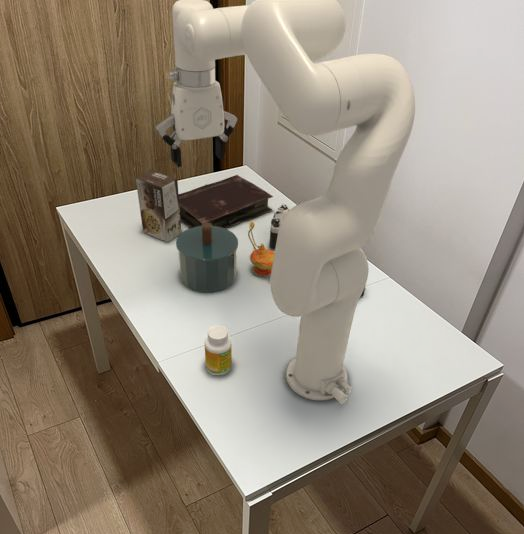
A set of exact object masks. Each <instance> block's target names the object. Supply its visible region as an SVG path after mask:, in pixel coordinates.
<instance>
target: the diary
mask: <svg viewBox="0 0 524 534" xmlns="http://www.w3.org/2000/svg"><path fill="white" fill-rule="evenodd" d="M178 194H179V207H180V221H181V222H183V223H184V224H185V225H187V226H188V227H189V228H193V227H197V226H202V224H203V223H211V224H212V226H217V227H222V228H225V229H227V228H229V227H231V226H233V225H235V224H238V223H242V222H246V221H249V220H252V219H255V218H258V217H260V216H262V215H264V214H267V213H269V212H271V211H273V209H272V208H271V207H269V199H271V198H273V197H274V196H273V195H272V194H270V193H269V192H267V191H266V190H265V189H263V188H261V187H260V186H258V185H256V184H254V183H253V182H251V181H249V180H247V179H246V178H244V177H242V176H240V175H238V174H235V175H232V176H229V177H227V178H224V179H222V180H219V181H218V180H217V181H215V182H212V183H208V184H204V185H202V186H199V187H195V188H193V189H191V190H188V191H185V192H182V193H178Z"/></svg>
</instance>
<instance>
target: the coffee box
mask: <svg viewBox="0 0 524 534" xmlns="http://www.w3.org/2000/svg"><path fill="white" fill-rule="evenodd" d="M135 184H136V190H137V198H138V205H139V212H140V217H141V218H140V219H141V227H142V233H143V234H146V235H149V236H151V237H153V238H156V239H158V240H161V241H163V242H166V243H169V242H171V241H172V240H174V239H175V238H176V237H177V238H178V236H179V235H180V234H181V233H182V223H181V222H182V221H181V220H180V207H179V194H180V193H179V183H178V177H176V176H172V175H169V174H167V173H163V172H161V171H157V170H154V169H149V170H147V171H146V172H144V173H142V174H141V175H139V176H137V177H135Z"/></svg>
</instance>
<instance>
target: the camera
mask: <svg viewBox="0 0 524 534" xmlns="http://www.w3.org/2000/svg"><path fill="white" fill-rule="evenodd" d="M290 209H291V208H289V206H287V204H282V205H280V206H279V207H278V208H277V210H276V211H275V212H274V214H273V218H271V220H270V227H269V229H270V230H269V245H268V247H269V250H271V251H275V248H276V242H277V236H278V231H279V227H280V224H281V222H282V219H283V218H284V216H285V215H286V213H287V212H288V211H289V210H290Z"/></svg>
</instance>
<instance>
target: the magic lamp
mask: <svg viewBox="0 0 524 534" xmlns="http://www.w3.org/2000/svg"><path fill="white" fill-rule="evenodd" d="M254 228H255V223H254V222H253V221H252V220H250V222H249V230H248V231H247V232H248V233H247V236H248V239H249V241H250V243H251V245H252V247H253V250H252V252H250V255H249V260H250V262H251V264H252V265H253V269H252V271H253V272H252V273H254V274H255V275H257V276H259V277H268V276H271V271H272V265H273V259H274V254H275V251H274V250H271V249H268V248H266V247H265V244H264V243H260V245H257V243H256V241H255V238H254V235H253V229H254Z"/></svg>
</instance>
